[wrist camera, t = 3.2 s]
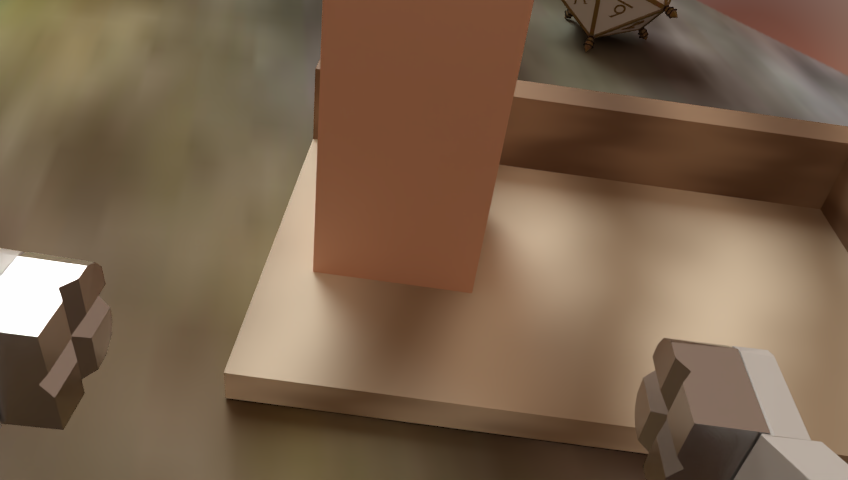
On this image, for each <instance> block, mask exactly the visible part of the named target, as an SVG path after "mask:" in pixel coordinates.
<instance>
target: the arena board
mask: <svg viewBox="0 0 848 480" xmlns="http://www.w3.org/2000/svg"><path fill="white" fill-rule="evenodd" d="M320 62H321V57H320V60H319V62H318V64H317V66H316V70H315V101H314V132H313V141H312V143H311V146H310V149H309V151H308V154H307V157H306V159H305V162H304V164H303V167H302V170H301V172H300V175H299V177H298V180H297V183H296V185H295V188H294V190H293V193H292V196H291V198H290V201H289V204H288V206H287V209H286V211H285V214H284V217H283V219H282V222H281V224H280V227H279V230H278V232H277V235H276V238H275V240H274V243H273V245H272V248H271V251H270V253H269V256H268V258H267V261H266V264H265V266H264V269H263V272H262V274H261V277H260V279H259V282H258V285H257V287H256V290H255V292H254V295H253V298H252V300H251V303H250V306H249V308H248V311H247V313H246V316H245V319H244V321H243V324H242V326H241V329H240V332H239V334H238V337H237V339H236V342H235V345H234V347H233V350H232V353H231V355H230V358H229V360H228V363H227V366H226V368H225V371H224V384H225V398H229V399H237V400H244V401H252V402H260V403H267V404H275V405H282V406H290V407H297V408H305V409H312V410H320V411H327V412H335V413H342V414H350V415H358V416H365V417H373V418H380V419H388V420H395V421H403V422H410V423H418V424H425V425H433V426H440V427H448V428H456V429H463V430H471V431H478V432H486V433H493V434H501V435H508V436H516V437H523V438H531V439H538V440H546V441H554V442H561V443H569V444H576V445H584V446H591V447H599V448H606V449H614V450H621V451H629V452H636V453H644V454H649V452H648V451H647V450H646V449H645V447H644V446H643V445H642V444H641V443H640V442H639V441H638V439H637V434H636V428H635V413H634V411H635V404H636V397H637V392H638V390H639V387H640V385H641V382H642V379H643V377H645V376H647V375H648V374H650V373H651V372H653V371H655V366H654V362H653V357H652V356H653V354H654V352H655V349H656V347H657V345H658V343H659V342H660V341H661V340H662V339H663V338H670V339H678V340H686V341H694V342H702V343H710V344H717V345H725V346H730V347H732V346H738V347H746V348H755V349H763V350H768V351H769V352H771V353H772V354H773V355H774V357H775V359H776V361H777V364H778V366H779V368H780V370H781V373H782V375H783V377H784V379H785V382H786V384H787V386H788V388H789V391H790V393H791V395H792V398H793V400H794V402H795V404H796V407H797V409H798V411H799V413H800V416H801V418H802V420H803V423H804V425H805V427H806V429H807V432H808V434H809V436H810V438H811V440H812V441H819V442H823V443H824V444H825V445H826V446H827V447H828V448H830V449H831V450H832V451H833V452H834V453H835V454H836V455H838V456H839V457H840V458H841V459H842V460H843V461H845V462H846V463H847V464H848V127H847V126H840V125H833V124H826V123H819V122H812V121H805V120H797V119H790V118H783V117H776V116H769V115H762V114H755V113H748V112H741V111H734V110H726V109H719V108H712V107H705V106H698V105H691V104H684V103H677V102H670V101H663V100H656V99H648V98H641V97H634V96H627V95H620V94H613V93H606V92H599V91H592V90H585V89H577V88H570V87H563V86H556V85H549V84H542V83H535V82H528V81H521V80H517V83H516V87H515V92H514V97H513V102H512V106H511V111H510V116H509V120H508V125H507V130H506V135H505V139H504V144H503V149H502V154H501V158H500V163H499V168H498V173H497V177H496V182H495V187H494V191H493V196H492V201H491V206H490V210H489V215H488V220H487V225H486V229H485V234H484V239H483V244H482V248H481V253H480V258H479V262H478V267H477V272H476V277H475V281H474V286H473V291H472V293H466V292H459V291H451V290H444V289H437V288H429V287H422V286H414V285H407V284H400V283H392V282H385V281H378V280H370V279H363V278H356V277H348V276H341V275H333V274H326V273H319V272H313V255H314V227H315V200H316V172H317V144H318V117H319V89H320Z"/></svg>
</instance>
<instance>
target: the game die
mask: <svg viewBox="0 0 848 480" xmlns="http://www.w3.org/2000/svg"><path fill="white" fill-rule="evenodd" d="M561 1H562V2H563V3H564V5H565V6H566V7H567V11H565V18H571V17H572V16H573V17H574V18H575V19H576V21H577V22H578V23H579V25H580V26H581V27H582V29H583V30H584V31H585V33H586V34H587V35H588V39H586V40H585V43H584V47H585V52H587V51H588V50H589V49H591V48H593V44H594V38H597V37H603V36H608V35H614V34H619V33H625V32H630V31H636V30H639V33H638V35H640V36H639V38H643V39H645V40H646V39H647V36H648V33H647V30H646V29H644V27H645V26H646V25H647V24H649V23H650V22H651V21H652V20H654V19H655V18H656V17H658V16H659V15H660V14H661V13H663V12H665V14H666V15H667V16H669V18H677V12H676V10H677V9H674V7H669V4H670V2H671V0H561Z"/></svg>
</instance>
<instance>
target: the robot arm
mask: <svg viewBox="0 0 848 480" xmlns="http://www.w3.org/2000/svg"><path fill="white" fill-rule="evenodd" d="M105 284H106V283H105V279H104V275H103V271H102V266H100V265H99V264H97V263H95V262H91V261H84V260H78V259H72V258H65V257H59V256H52V255H46V254H40V253H33V252H22V251H15V250H9V249H3V248H0V428H1V427H2V425H1V424H11V425H21V426H31V427H41V428H50V429H60V430H64V428H65V426H66V425H67V423H68V421H69V419H70V418H71V416H72V414H73V412H74V411H75V409H76V407H77V406H78V404H79V402H80V400H81V399H82V397H83V395H84V393H85V392H84V388H83V384H82V379H83V378H85V377H86V376H88V375H90V374H91V373H93V372H95V371H96V370H98V369H99V367H100V365H101V363H102V361H103V360H104V358H105V356H106V354H107V351H108V347H109V343H110V340H111V336H112V315H111V310H110V307H109V306H108V304H107V303H106V302H105V301H104V300H103V299H102V298H101V297H100V296H99V294H100V292H101V291H102V289H103V287H104V286H105ZM652 357H653V362H654V366H655V371H653V372H651V373H650V374H648V375H647V376H645V377H643V379H642V382H641V385H640V387H639V390H638V392H637V397H636V404H635V411H634V413H635V428H636V434H637V439H638V441H639V442H640V443H641V444H642V445H643V446H644V447H645V449H646V450H647V451H648V452H649V454H648V456H647V458H646V460H645V463H644V465H643V469H644V474H645V479H646V480H848V464H847V463H846V462H845V461H843V460H842V459H841V458H840V457H839V456H838V455H836V454H835V453H834V452H833V451H832V450H831V449H830V448H828V447H827V446H826V445H825V444H824V443H823V442H819V441H812V440H811V438H810V436H809V434H808V432H807V429H806V427H805V425H804V423H803V420H802V418H801V416H800V413H799V411H798V409H797V407H796V404H795V402H794V400H793V398H792V395H791V393H790V391H789V388H788V386H787V384H786V382H785V379H784V377H783V375H782V373H781V370H780V368H779V366H778V364H777V361H776V359H775V357H774V355H773V354H772V353H771V352H769V351H768V350H763V349H755V348H746V347H738V346H732V347H730V346H725V345H717V344H710V343H702V342H694V341H686V340H678V339H670V338H663V339H662V340H661V341H660V342H659V343H658V345H657V347H656V349H655V352H654V354H653V356H652Z"/></svg>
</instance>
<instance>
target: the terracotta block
mask: <svg viewBox="0 0 848 480" xmlns="http://www.w3.org/2000/svg"><path fill="white" fill-rule="evenodd" d="M533 2H534V0H323V7H322V34H321V62H320V89H319V117H318V144H317V172H316V200H315V227H314V255H313V272H319V273H326V274H333V275H341V276H348V277H356V278H363V279H370V280H378V281H385V282H392V283H400V284H407V285H414V286H422V287H429V288H437V289H444V290H451V291H459V292H466V293H472V291H473V286H474V281H475V277H476V272H477V267H478V262H479V258H480V253H481V248H482V244H483V239H484V234H485V229H486V225H487V220H488V215H489V210H490V206H491V201H492V196H493V191H494V187H495V182H496V177H497V173H498V168H499V163H500V158H501V154H502V149H503V144H504V139H505V135H506V130H507V125H508V120H509V116H510V111H511V106H512V102H513V97H514V92H515V87H516V83H517V78H518V73H519V68H520V64H521V59H522V54H523V50H524V45H525V40H526V35H527V31H528V26H529V21H530V16H531V12H532V7H533Z"/></svg>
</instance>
